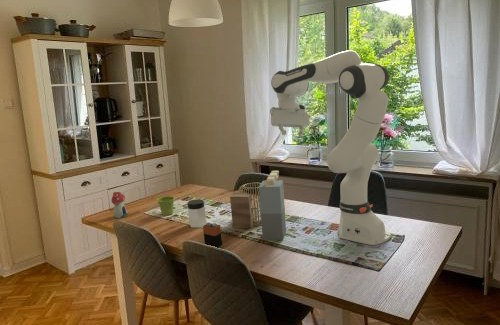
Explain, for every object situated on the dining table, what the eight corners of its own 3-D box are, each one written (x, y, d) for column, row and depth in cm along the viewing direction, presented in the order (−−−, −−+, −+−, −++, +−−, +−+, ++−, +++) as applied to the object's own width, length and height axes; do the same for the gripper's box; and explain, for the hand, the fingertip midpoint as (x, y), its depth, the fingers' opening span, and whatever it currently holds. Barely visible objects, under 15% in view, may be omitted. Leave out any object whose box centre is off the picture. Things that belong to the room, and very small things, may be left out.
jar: (188, 223, 196) (185, 200, 194) (204, 220, 198) (202, 198, 196) (191, 229, 188) (188, 205, 185) (207, 226, 190) (205, 202, 188)
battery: (216, 248, 164) (214, 226, 162) (204, 245, 167) (202, 224, 165) (222, 244, 167) (220, 222, 165) (210, 242, 171) (208, 220, 169)
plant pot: (174, 216, 209) (172, 200, 207) (157, 217, 209) (155, 201, 207) (177, 210, 218) (176, 195, 216) (161, 211, 218) (159, 196, 216)
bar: (272, 176, 181) (272, 170, 180) (278, 175, 180) (278, 170, 179) (265, 187, 163) (265, 181, 162) (272, 187, 162) (272, 181, 162)
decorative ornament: (119, 219, 209) (115, 193, 206) (110, 218, 212) (106, 192, 209) (131, 213, 218) (127, 188, 215) (121, 213, 220) (118, 187, 217)
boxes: (237, 220, 195) (233, 174, 190) (289, 220, 189) (286, 173, 184) (225, 239, 173) (220, 187, 168) (283, 240, 167) (279, 186, 162)
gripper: (272, 104, 180) (277, 131, 177) (308, 106, 189) (313, 133, 186) (266, 109, 186) (270, 136, 182) (301, 112, 195) (306, 137, 191)
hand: (292, 135), depth 184 cm, fingers open, 8 cm apart
